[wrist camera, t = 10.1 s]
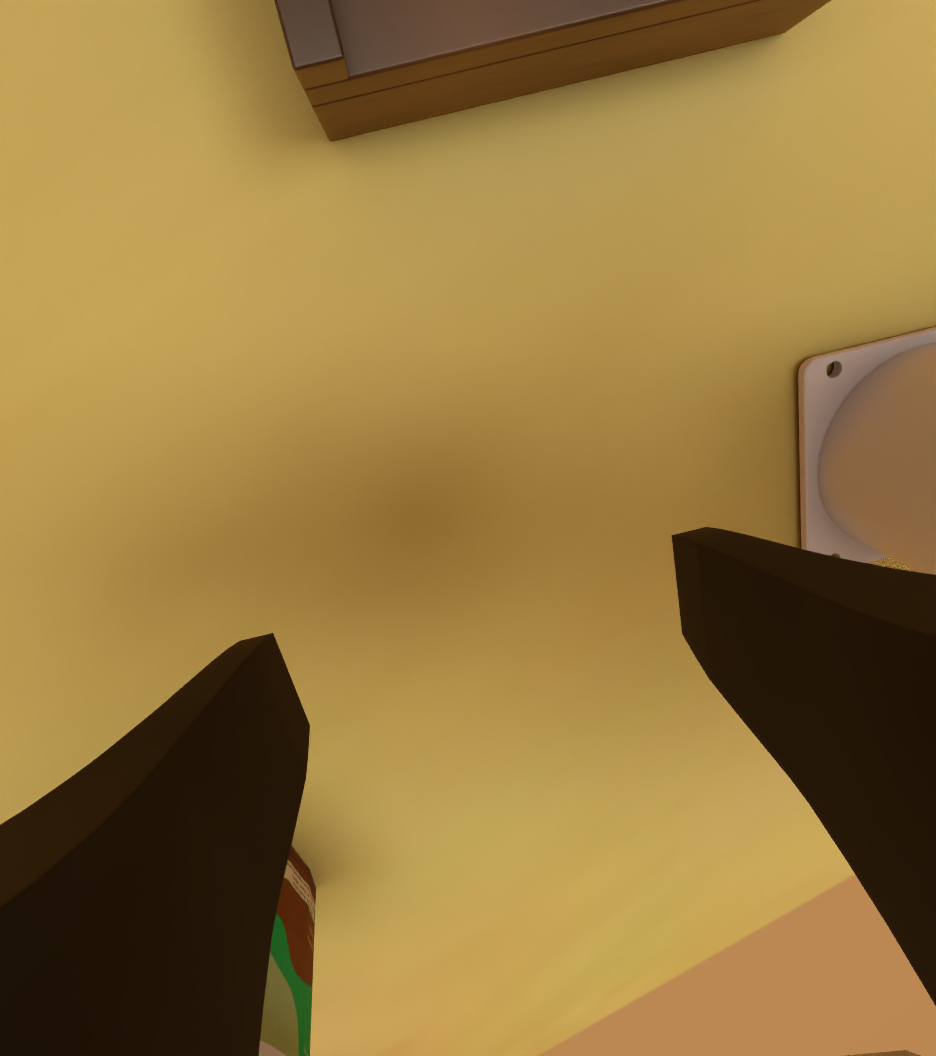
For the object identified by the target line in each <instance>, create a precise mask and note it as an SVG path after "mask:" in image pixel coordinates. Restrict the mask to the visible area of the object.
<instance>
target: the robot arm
mask: <svg viewBox="0 0 936 1056" xmlns="http://www.w3.org/2000/svg"><path fill="white" fill-rule="evenodd" d="M832 362H833V363H834V369H833V372H832V373H831V374H830V375H828V376H827V372H826V370H827V367H828V366H829V364H830V363H832ZM798 397H799V449H800V500H801V549H800V548H796V547H792V546H788V545H784V544H780V543H776V542H772V541H768V540H764V539H761V538H757V537H753V536H749V535H745V534H741V533H736V532H732V531H727V530H723V529H717V528H709V527H704V528H700V529H696V530H692V531H688V532H684V533H680V534H675V535H672V542H673V551H674V561H675V570H676V580H677V589H678V599H679V608H680V617H681V627H682V634H683V636H684V638H685V639H686V641H687V643H688V645H689V646H690V648H691V650H692V652H693V653H694V655H695V657H696V658H697V660H698V662H699V663H700V665H701V666H702V668H703V670H704V671H705V673H706V675H707V676H708V678H709V679H710V680H711V682H712V683H713V684H714V685H715V687H716V688H717V689H718V691H719V692H720V693H721V694H722V695H723V697H724V698H725V699H726V700H727V702H728V703H729V704H730V705H731V707H732V708H733V709H734V710H735V712H736V713H737V714H738V715H739V717H740V718H741V719H742V720H743V721H744V723H745V724H746V725H747V726H748V727H749V729H750V730H751V731H752V732H753V734H754V735H755V736H756V737H757V738H758V740H759V741H760V742H761V743H762V745H763V746H764V747H765V748H766V749H767V751H768V752H769V753H770V754H771V756H772V757H773V758H774V759H775V760H776V762H777V763H778V764H779V765H780V767H781V768H782V769H783V770H784V771H785V773H786V774H787V775H788V776H789V778H790V779H791V780H792V782H793V783H794V784H795V786H796V787H797V788H798V789H799V791H800V792H801V793H802V795H803V796H804V797H805V799H806V800H807V801H808V803H809V804H810V806H811V807H812V809H813V810H814V812H815V813H816V815H817V816H818V818H819V819H820V821H821V822H822V824H823V825H824V827H825V828H826V830H827V832H828V833H829V835H830V836H831V838H832V839H833V841H834V842H835V844H836V845H837V847H838V848H839V850H840V851H841V853H842V854H843V856H844V857H845V859H846V860H847V862H848V863H849V865H850V867H851V868H852V870H853V871H854V873H855V875H856V876H857V878H858V879H859V881H860V882H861V884H862V886H863V887H864V889H865V890H866V892H867V894H868V895H869V897H870V898H871V900H872V901H873V903H874V904H875V906H876V908H877V909H878V911H879V912H880V914H881V916H882V917H883V918H884V920H885V922H886V923H887V925H888V927H889V928H890V930H891V932H892V934H893V935H894V937H895V938H896V940H897V942H898V944H899V945H900V947H901V948H902V950H903V952H904V953H905V955H906V957H907V959H908V960H909V962H910V964H911V965H912V967H913V969H914V970H915V972H916V973H917V975H918V977H919V979H920V980H921V982H922V984H923V985H924V987H925V989H926V990H927V992H928V994H929V995H930V997H931V999H932V1000H933V1002H934V1004H935V1005H936V327H933V328H929V329H924V330H920V331H916V332H912V333H908V334H904V335H900V336H896V337H892V338H887V339H883V340H879V341H875V342H871V343H867V344H863V345H859V346H855V347H850V348H846V349H842V350H838V351H834V352H830V353H826V354H822V355H817V356H813V357H811V358H809V359H807V360H806V361H805V362H803V363H802V365H801V367H800V369H799V373H798ZM832 554H834V555H833V556H830V555H832ZM886 558H892V559H894V560H896V561H897V562H899V563H901V564H903V565H905V566H907V567H909V568H910V569H912V570H914V571H916V572H912V571H906V570H900V569H894V568H888V567H883V566H878V565H873V564H868V563H870V562H874V561H878V560H882V559H886ZM309 731H310V724H309V722H308V719H307V717H306V714H305V712H304V709H303V707H302V704H301V702H300V699H299V697H298V694H297V692H296V689H295V687H294V684H293V682H292V679H291V677H290V674H289V672H288V669H287V667H286V664H285V662H284V659H283V657H282V654H281V652H280V649H279V647H278V644H277V642H276V639H275V637H274V634H273V633H271V634H267V635H263V636H259V637H255V638H250V639H246V640H242V641H239V642H237V643H236V644H234V645H233V646H231V647H230V648H228V649H227V650H226V651H224V652H223V653H222V654H221V655H219V656H218V657H217V658H216V659H214V660H213V661H212V662H211V663H210V664H209V665H207V666H206V667H205V668H204V669H203V670H202V671H200V672H199V673H198V674H197V675H196V676H195V677H193V678H192V679H191V680H190V681H189V682H188V683H187V684H185V685H184V686H183V687H182V688H181V689H180V690H179V691H177V692H176V693H175V694H174V695H173V696H172V697H170V698H169V699H168V700H167V701H166V702H165V703H164V704H162V705H161V706H160V707H159V708H158V709H157V710H155V711H154V712H153V713H152V714H151V715H149V716H148V717H147V718H146V719H144V720H143V721H142V722H141V723H140V724H138V725H137V726H136V727H135V728H133V729H132V730H131V731H130V732H129V733H127V734H126V735H125V736H124V737H122V738H121V739H120V740H119V741H117V742H116V743H115V744H114V745H113V746H111V747H110V748H109V749H108V750H106V751H105V752H104V753H103V754H101V755H100V756H99V757H98V758H96V759H95V760H94V761H92V762H91V763H90V764H88V765H87V766H86V767H84V768H83V769H82V770H80V771H79V772H78V773H76V774H75V775H73V776H72V777H71V778H69V779H68V780H67V781H65V782H64V783H62V784H61V785H59V786H58V787H57V788H55V789H54V790H52V791H51V792H49V793H48V794H47V795H45V796H44V797H42V798H41V799H39V800H38V801H36V802H35V803H34V804H32V805H31V806H29V807H28V808H26V809H25V810H23V811H22V812H20V813H19V814H17V815H15V816H14V817H12V818H11V819H9V820H7V821H6V822H4V823H2V824H1V825H0V1056H259V1047H260V1037H261V1027H262V1017H263V1007H264V998H265V990H266V982H267V973H268V965H269V957H270V949H271V940H272V934H273V928H274V923H275V917H276V912H277V906H278V901H279V897H280V892H281V888H282V884H283V879H284V875H285V870H286V866H287V862H288V857H289V853H290V848H291V844H292V839H293V835H294V831H295V826H296V822H297V817H298V813H299V808H300V803H301V799H302V794H303V789H304V785H305V780H306V772H307V761H308V748H309ZM848 1056H920V1055H917V1054H915V1053H912V1052H909V1051H906V1050H903V1051H892V1052H881V1053H870V1054H859V1055H848Z"/></svg>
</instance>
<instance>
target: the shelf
mask: <svg viewBox="0 0 936 1056" xmlns="http://www.w3.org/2000/svg"><path fill="white" fill-rule="evenodd" d="M274 1H275V5H276V8H277V12H278V16H279V19H280V23H281V26H282V30H283V34H284V37H285V41H286V45H287V48H288V52H289V56H290V59H291V63H292V67H293V69H294V71H295V73H296V75H297V77H298V79H299V81H300V83H301V85H302V87H303V89H304V91H305V93H306V95H307V97H308V99H309V101H310V102H311V105H312V107H313V109H314V111H315V113H316V115H317V117H318V119H319V121H320V123H321V125H322V127H323V129H324V131H325V133H326V135H327V137H328V139H329V140H330V141H333V140H337V139H342V138H346V137H350V136H354V135H358V134H363V133H367V132H371V131H375V130H379V129H383V128H388V127H392V126H396V125H400V124H404V123H408V122H413V121H417V120H421V119H425V118H429V117H434V116H438V115H442V114H446V113H450V112H454V111H459V110H463V109H467V108H471V107H475V106H479V105H484V104H488V103H492V102H496V101H500V100H505V99H509V98H513V97H517V96H521V95H525V94H530V93H534V92H538V91H542V90H546V89H550V88H555V87H559V86H563V85H567V84H571V83H575V82H580V81H584V80H588V79H592V78H596V77H601V76H605V75H609V74H613V73H617V72H621V71H626V70H630V69H634V68H638V67H642V66H646V65H651V64H655V63H659V62H663V61H667V60H672V59H676V58H680V57H684V56H688V55H692V54H697V53H701V52H705V51H709V50H713V49H717V48H722V47H726V46H730V45H734V44H738V43H743V42H747V41H751V40H755V39H759V38H763V37H768V36H772V35H776V34H780V33H784V32H786V31H788V30H789V29H790V28H792V27H793V26H795V25H796V24H798V23H799V22H801V21H802V20H803V19H805V18H806V17H808V16H809V15H811V14H812V13H813V12H815V11H816V10H818V9H819V8H821V7H822V6H823V5H825V4H826V3H828V2H829V1H831V0H274Z"/></svg>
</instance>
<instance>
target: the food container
mask: <svg viewBox="0 0 936 1056" xmlns="http://www.w3.org/2000/svg"><path fill="white" fill-rule="evenodd" d="M315 899H316V888H315V885H314V882H313V878H312V875H311V872H310V870H309V868H308V867H307V866H306V864H305V863H304V862H303V861H302V859H301V858H300V857H299V855H298V854H297V853H296V852H295V850H294V849H293V848H292V846H291V848H290V853H289V857H288V862H287V866H286V870H285V875H284V879H283V884H282V888H281V892H280V897H279V901H278V906H277V912H276V917H275V923H274V928H273V934H272V940H271V949H270V957H269V965H268V973H267V982H266V990H265V998H264V1007H263V1017H262V1027H261V1037H260V1047H259V1056H310V1034H311V1007H312V980H313V953H314V926H315Z"/></svg>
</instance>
